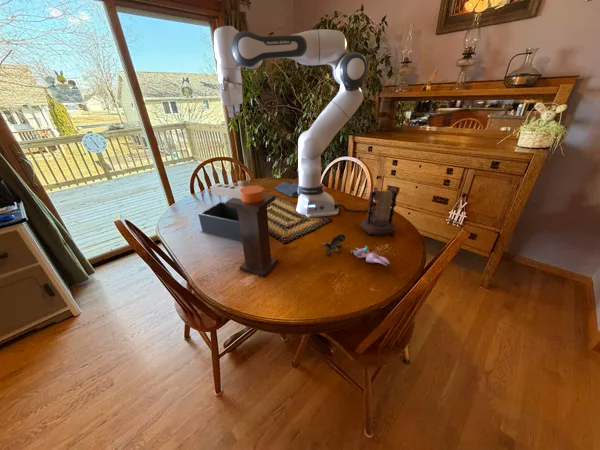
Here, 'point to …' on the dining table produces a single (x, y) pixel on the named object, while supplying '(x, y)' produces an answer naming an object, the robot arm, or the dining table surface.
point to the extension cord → (239, 192)
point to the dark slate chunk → (288, 188)
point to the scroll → (381, 213)
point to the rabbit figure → (370, 256)
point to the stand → (255, 234)
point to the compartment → (221, 221)
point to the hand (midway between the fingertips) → (234, 116)
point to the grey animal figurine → (334, 243)
